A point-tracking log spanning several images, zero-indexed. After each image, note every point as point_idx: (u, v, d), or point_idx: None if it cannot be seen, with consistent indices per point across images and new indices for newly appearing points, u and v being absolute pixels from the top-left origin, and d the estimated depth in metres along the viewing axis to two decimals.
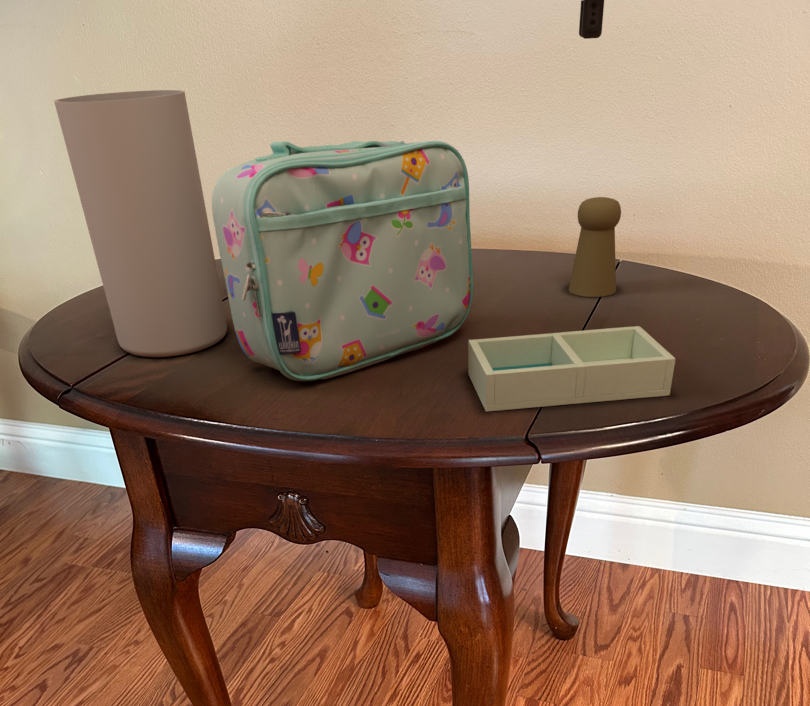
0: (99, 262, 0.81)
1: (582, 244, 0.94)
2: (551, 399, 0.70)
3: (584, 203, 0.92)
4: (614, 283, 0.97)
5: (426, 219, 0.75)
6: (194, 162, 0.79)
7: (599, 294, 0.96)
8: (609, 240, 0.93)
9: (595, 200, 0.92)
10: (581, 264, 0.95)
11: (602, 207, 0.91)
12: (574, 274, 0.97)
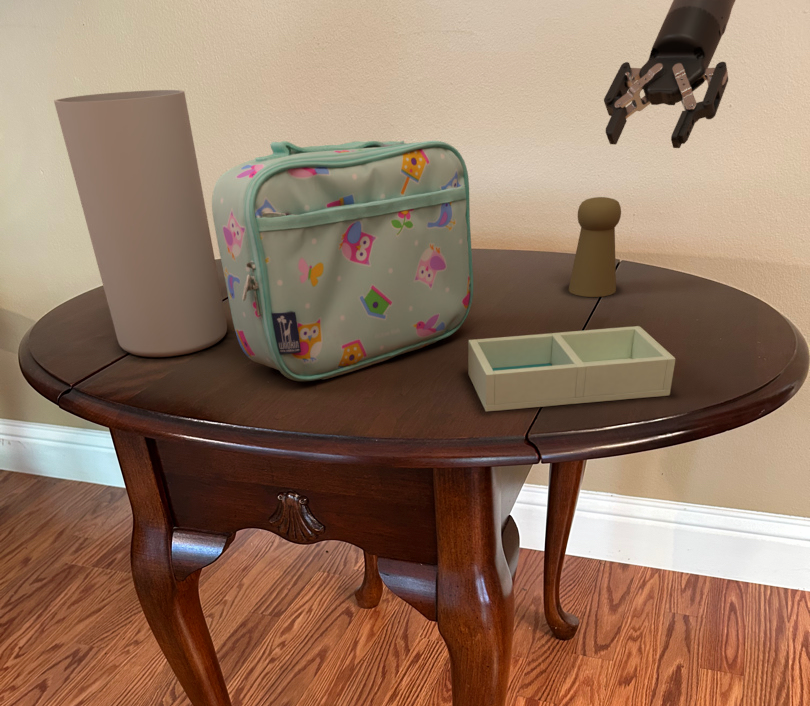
0: (99, 262, 0.81)
1: (582, 244, 0.94)
2: (551, 399, 0.70)
3: (584, 203, 0.92)
4: (614, 283, 0.97)
5: (426, 219, 0.75)
6: (194, 162, 0.79)
7: (599, 294, 0.96)
8: (609, 240, 0.93)
9: (595, 200, 0.92)
10: (581, 264, 0.95)
11: (602, 207, 0.91)
12: (574, 274, 0.97)
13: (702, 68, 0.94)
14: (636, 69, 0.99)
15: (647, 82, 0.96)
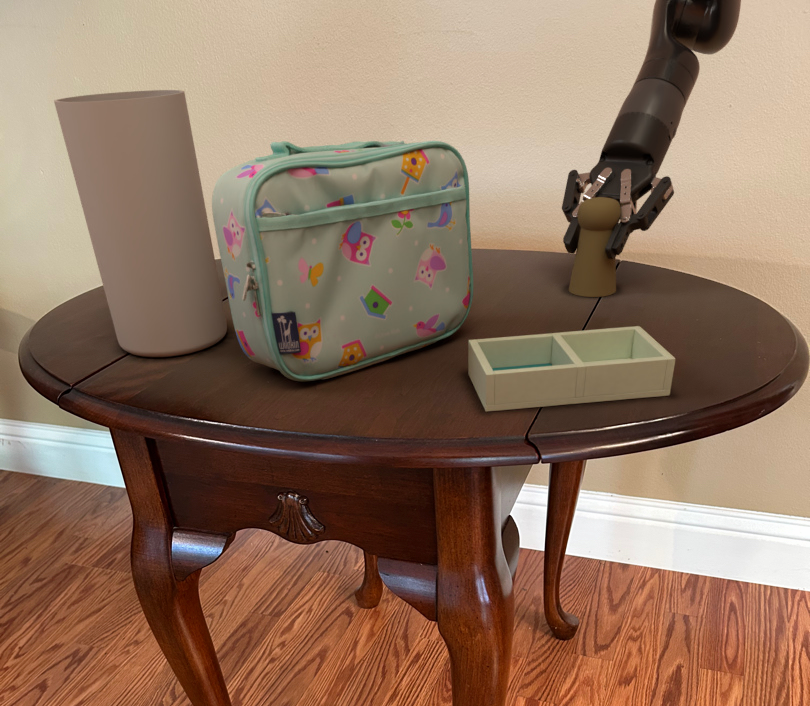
0: (99, 262, 0.81)
1: (582, 245, 0.94)
2: (551, 399, 0.70)
3: (584, 203, 0.92)
4: (614, 283, 0.97)
5: (426, 219, 0.75)
6: (194, 162, 0.79)
7: (599, 294, 0.96)
8: None
9: (595, 201, 0.92)
10: (581, 264, 0.95)
11: (602, 208, 0.91)
12: (574, 274, 0.97)
13: (650, 176, 0.92)
14: (585, 174, 0.97)
15: (600, 187, 0.94)
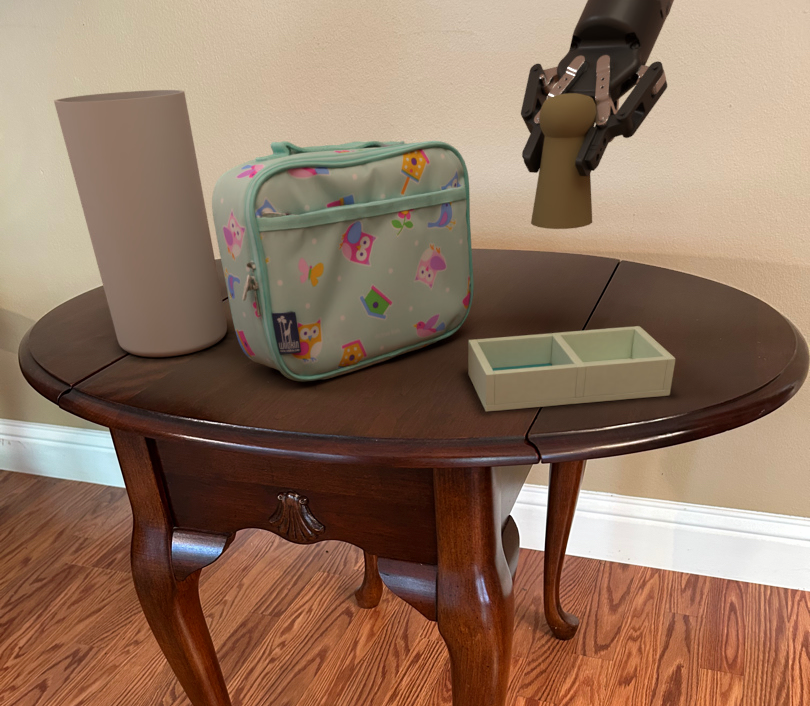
0: (99, 262, 0.81)
1: (546, 158, 0.71)
2: (551, 399, 0.70)
3: (547, 101, 0.69)
4: (589, 211, 0.74)
5: (426, 219, 0.75)
6: (194, 162, 0.79)
7: (569, 225, 0.73)
8: None
9: (562, 96, 0.69)
10: (545, 185, 0.72)
11: (570, 104, 0.68)
12: (536, 200, 0.74)
13: (635, 64, 0.69)
14: (551, 69, 0.74)
15: (570, 82, 0.71)
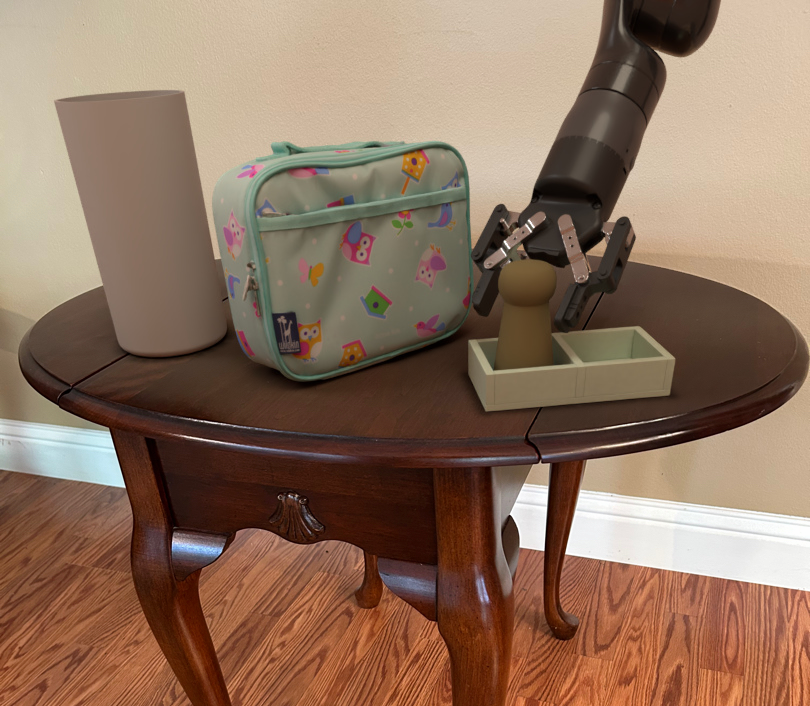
0: (99, 262, 0.81)
1: (505, 323, 0.69)
2: (551, 399, 0.70)
3: (505, 269, 0.67)
4: None
5: (427, 219, 0.75)
6: (194, 162, 0.79)
7: None
8: (541, 318, 0.68)
9: (520, 266, 0.66)
10: (504, 349, 0.70)
11: (529, 276, 0.66)
12: (496, 360, 0.72)
13: (598, 222, 0.66)
14: (515, 214, 0.72)
15: (525, 237, 0.69)
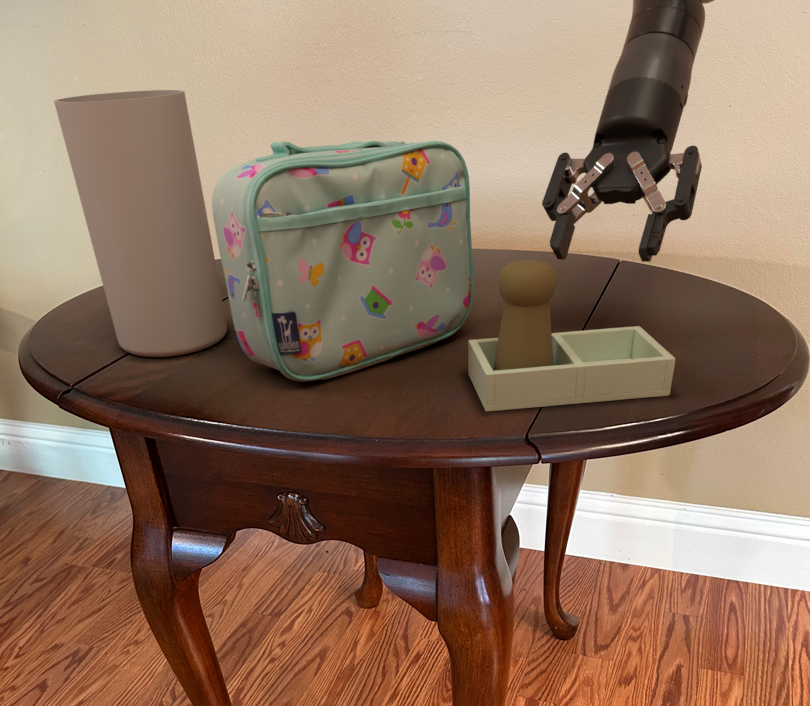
0: (99, 262, 0.81)
1: (505, 323, 0.69)
2: (551, 399, 0.70)
3: (505, 269, 0.67)
4: None
5: (427, 219, 0.75)
6: (194, 162, 0.79)
7: None
8: (541, 318, 0.68)
9: (520, 266, 0.66)
10: (504, 349, 0.70)
11: (529, 276, 0.66)
12: (496, 360, 0.72)
13: (666, 155, 0.71)
14: (578, 160, 0.76)
15: (596, 178, 0.73)
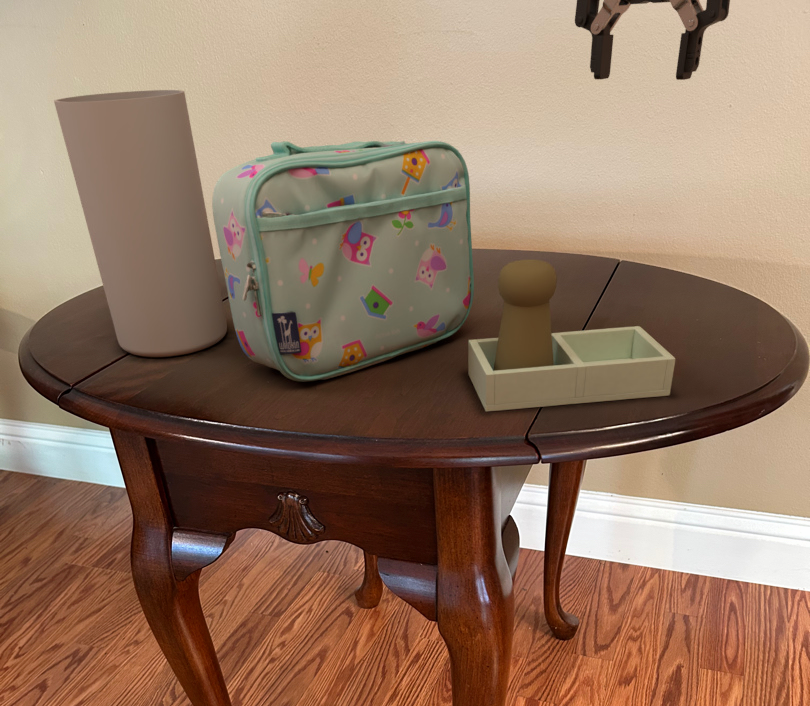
0: (99, 262, 0.81)
1: (505, 323, 0.69)
2: (551, 399, 0.70)
3: (505, 269, 0.67)
4: None
5: (427, 219, 0.75)
6: (194, 162, 0.79)
7: None
8: (541, 318, 0.68)
9: (520, 266, 0.66)
10: (504, 349, 0.70)
11: (529, 276, 0.66)
12: (496, 360, 0.72)
13: None
14: None
15: None
